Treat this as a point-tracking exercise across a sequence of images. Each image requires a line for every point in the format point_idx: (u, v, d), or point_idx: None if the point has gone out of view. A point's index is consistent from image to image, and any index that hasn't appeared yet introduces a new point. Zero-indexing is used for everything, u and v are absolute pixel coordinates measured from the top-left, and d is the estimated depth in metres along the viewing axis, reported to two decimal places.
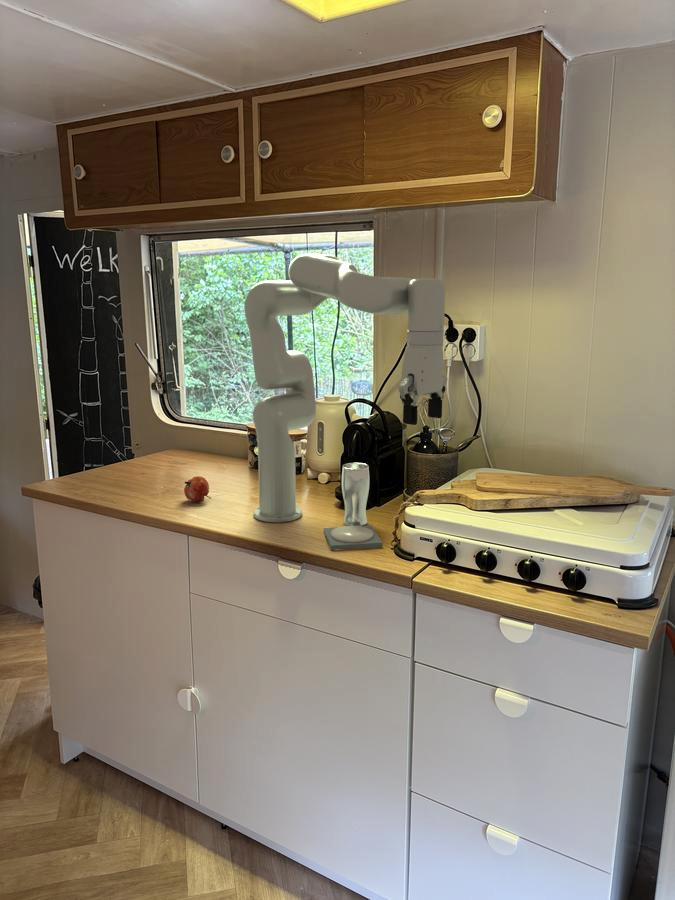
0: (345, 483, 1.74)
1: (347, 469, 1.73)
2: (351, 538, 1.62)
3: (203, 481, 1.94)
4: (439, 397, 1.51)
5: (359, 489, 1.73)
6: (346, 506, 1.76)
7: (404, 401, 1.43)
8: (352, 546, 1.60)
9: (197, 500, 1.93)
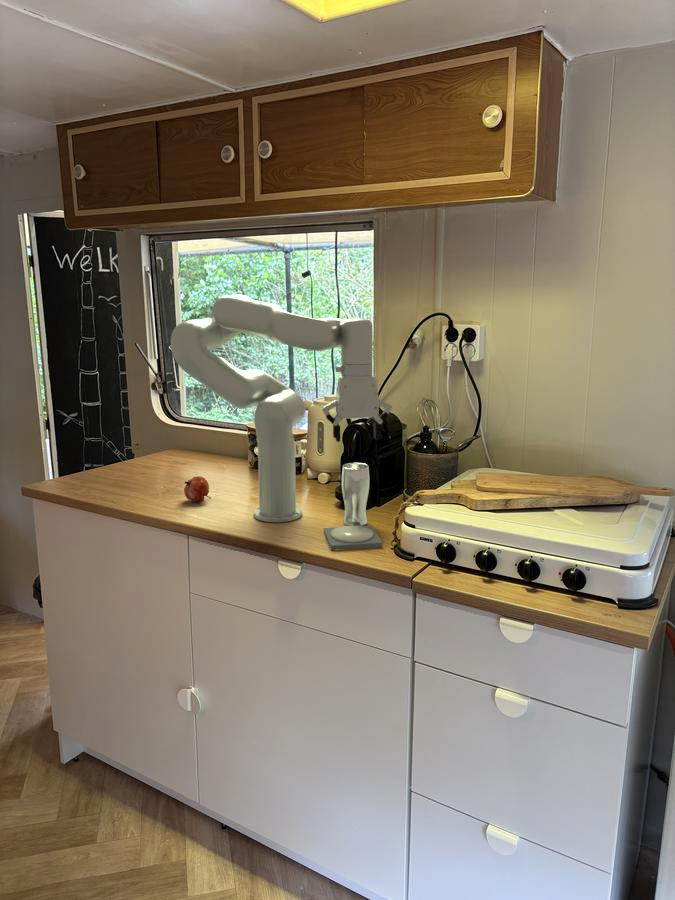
0: (345, 483, 1.74)
1: (347, 469, 1.73)
2: (351, 538, 1.62)
3: (203, 481, 1.94)
4: None
5: (359, 489, 1.73)
6: (346, 506, 1.76)
7: None
8: (352, 546, 1.60)
9: (197, 500, 1.93)
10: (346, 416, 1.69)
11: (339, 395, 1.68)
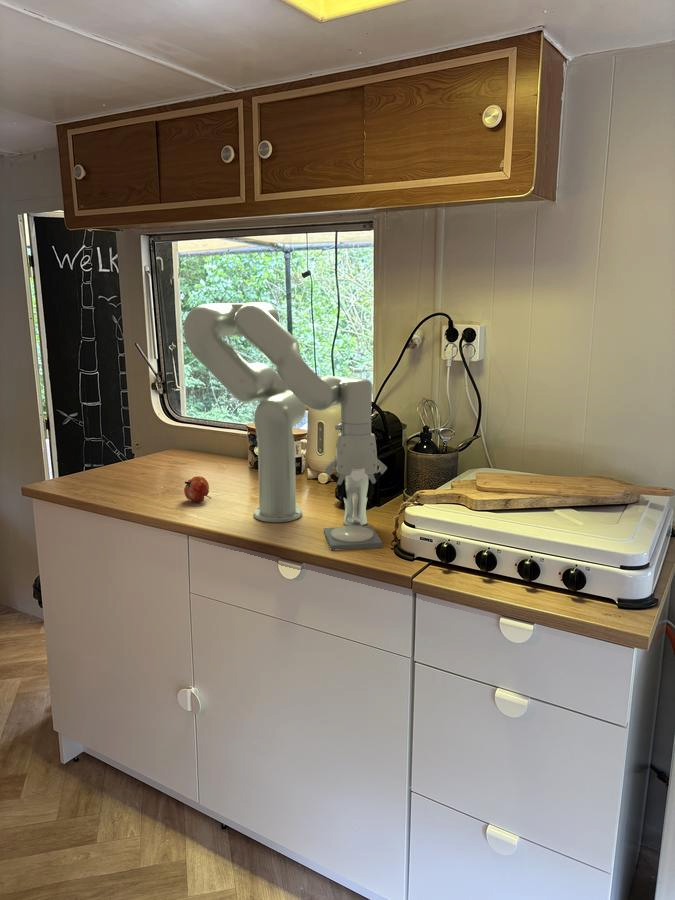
0: (345, 483, 1.74)
1: None
2: (351, 538, 1.62)
3: (203, 481, 1.94)
4: None
5: (359, 489, 1.73)
6: (346, 506, 1.76)
7: None
8: (352, 546, 1.60)
9: (197, 500, 1.93)
10: (345, 473, 1.72)
11: (338, 453, 1.71)
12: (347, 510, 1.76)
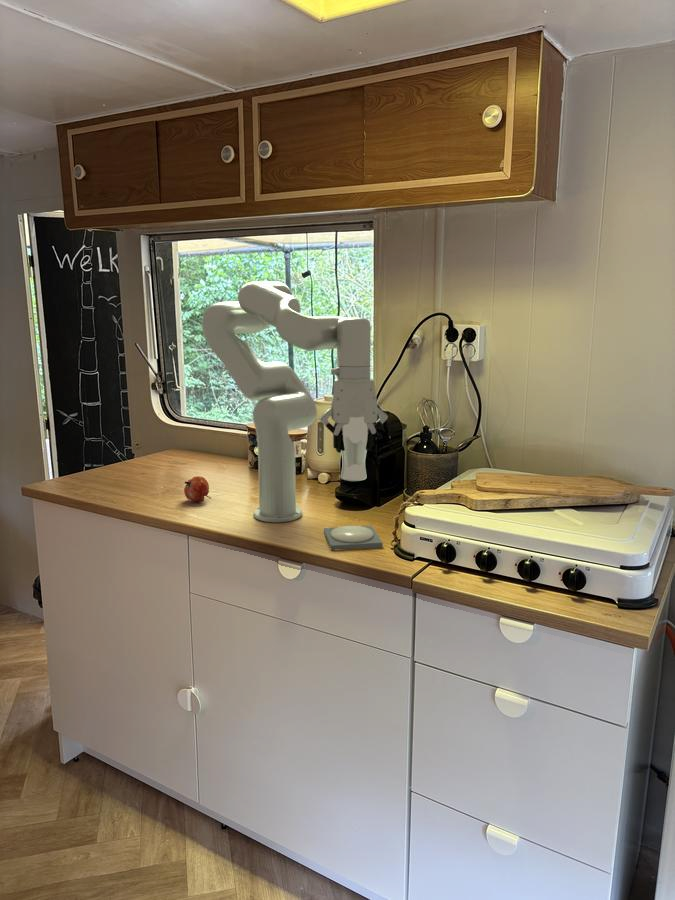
0: (343, 433, 1.59)
1: None
2: (351, 538, 1.62)
3: (203, 481, 1.94)
4: None
5: (358, 439, 1.58)
6: (344, 459, 1.61)
7: None
8: (352, 546, 1.60)
9: (197, 500, 1.93)
10: (342, 422, 1.57)
11: (335, 399, 1.57)
12: (345, 463, 1.61)
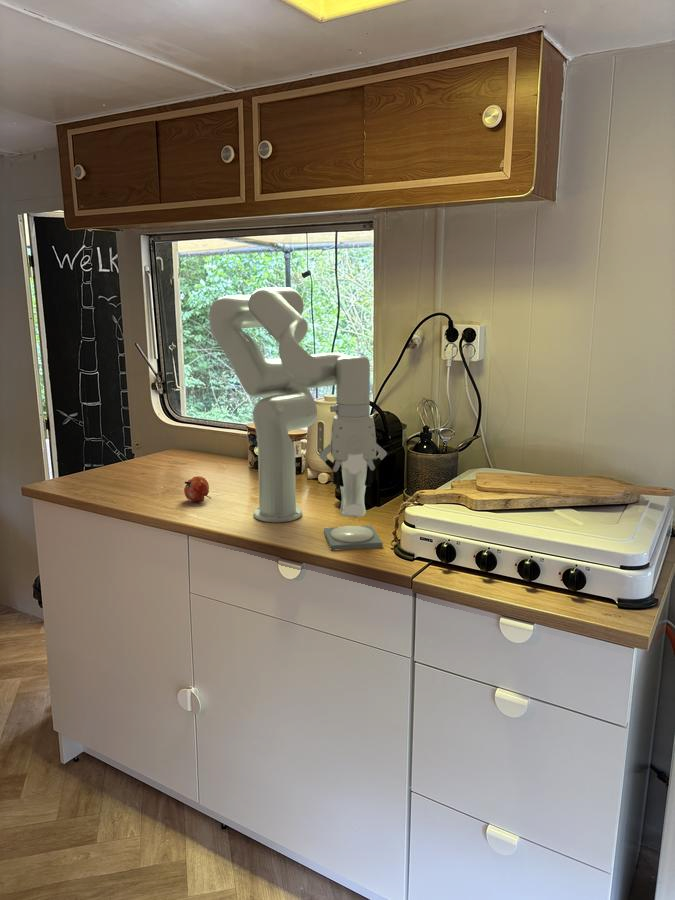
0: (342, 470, 1.60)
1: None
2: (351, 538, 1.62)
3: (203, 481, 1.94)
4: None
5: (357, 476, 1.59)
6: (343, 495, 1.62)
7: None
8: (352, 546, 1.60)
9: (197, 500, 1.93)
10: (341, 459, 1.59)
11: (334, 437, 1.58)
12: (344, 499, 1.62)
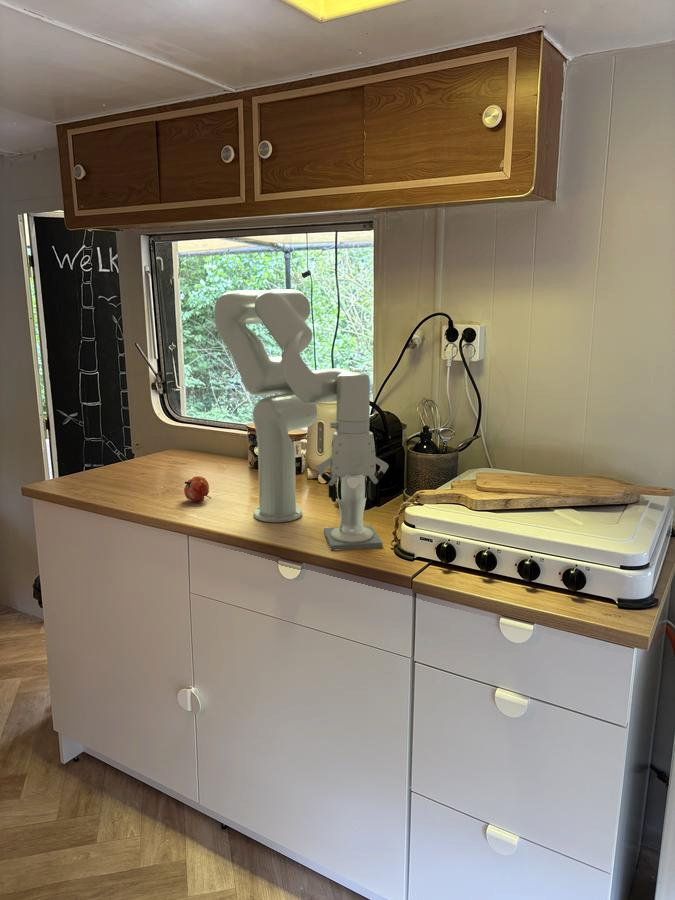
0: (341, 490, 1.61)
1: None
2: (351, 538, 1.62)
3: (203, 481, 1.94)
4: None
5: (356, 497, 1.60)
6: (342, 515, 1.64)
7: None
8: (352, 546, 1.60)
9: (197, 500, 1.93)
10: (341, 475, 1.59)
11: (334, 453, 1.59)
12: (343, 519, 1.64)
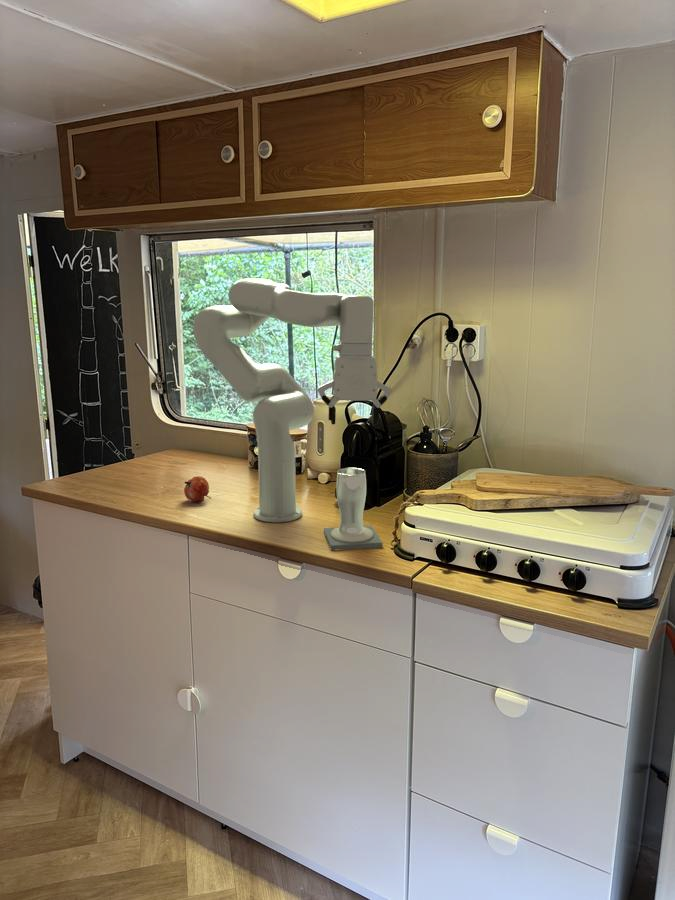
0: (340, 490, 1.61)
1: (342, 475, 1.60)
2: (351, 538, 1.62)
3: (203, 481, 1.94)
4: None
5: (355, 496, 1.61)
6: (342, 515, 1.64)
7: None
8: (352, 546, 1.60)
9: (197, 500, 1.93)
10: (342, 398, 1.60)
11: (335, 375, 1.59)
12: (343, 519, 1.64)
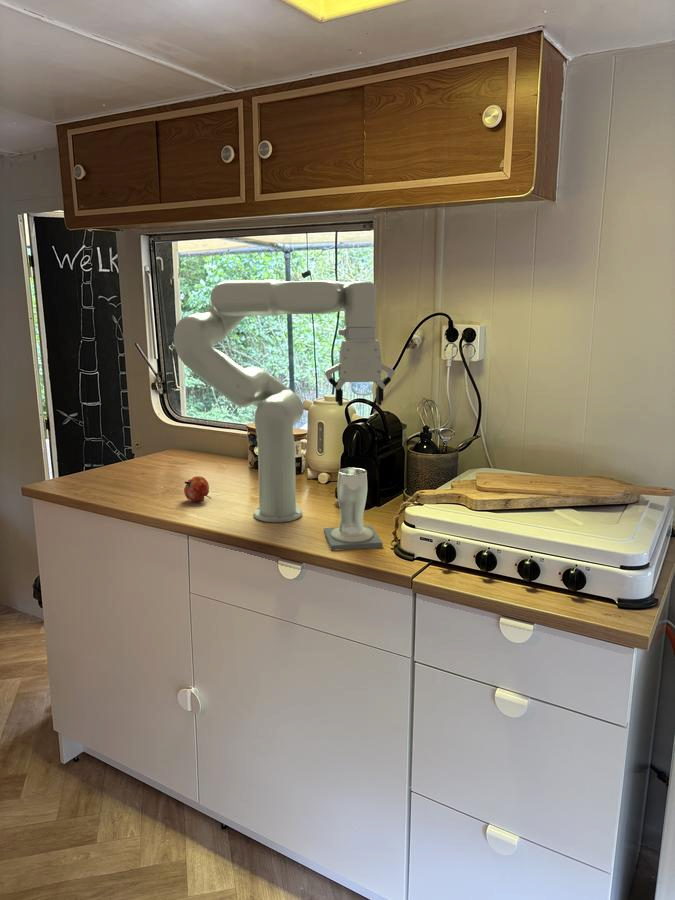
0: (341, 490, 1.61)
1: (344, 475, 1.60)
2: (351, 538, 1.62)
3: (203, 481, 1.94)
4: None
5: (356, 496, 1.61)
6: (342, 514, 1.64)
7: None
8: (352, 546, 1.60)
9: (197, 500, 1.93)
10: (349, 380, 1.68)
11: (342, 358, 1.67)
12: (343, 519, 1.64)
